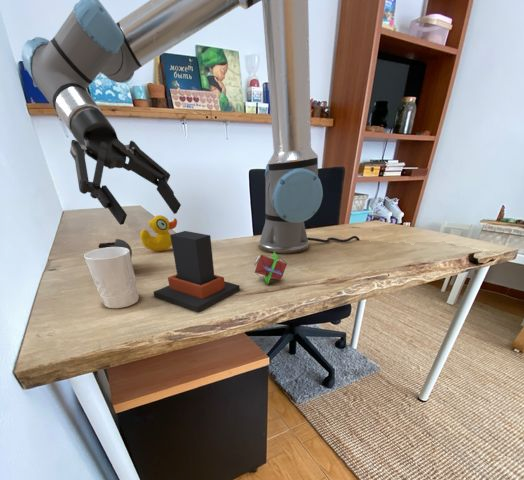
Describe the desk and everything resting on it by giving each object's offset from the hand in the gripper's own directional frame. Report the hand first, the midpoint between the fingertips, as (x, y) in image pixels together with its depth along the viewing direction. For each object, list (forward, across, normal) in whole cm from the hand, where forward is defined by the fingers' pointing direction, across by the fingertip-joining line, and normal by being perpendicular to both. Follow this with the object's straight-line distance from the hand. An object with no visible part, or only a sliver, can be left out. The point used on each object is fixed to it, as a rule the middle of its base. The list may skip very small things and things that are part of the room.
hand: (152, 214), depth 61 cm
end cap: (-1, +1, -22) cm, 23 cm away
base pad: (+18, 0, -2) cm, 18 cm away
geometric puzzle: (+25, -14, +4) cm, 29 cm away
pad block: (+17, 0, -2) cm, 17 cm away
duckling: (-4, -17, -26) cm, 32 cm away
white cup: (+11, +12, -10) cm, 19 cm away
